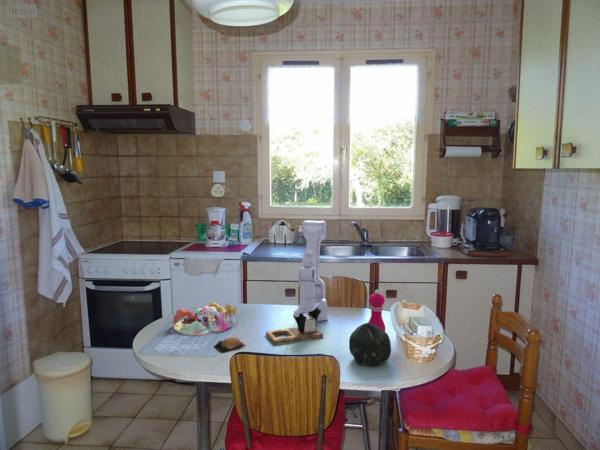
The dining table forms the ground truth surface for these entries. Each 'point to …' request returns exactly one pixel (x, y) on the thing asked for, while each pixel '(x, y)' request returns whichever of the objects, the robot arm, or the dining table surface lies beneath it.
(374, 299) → the pepper mill
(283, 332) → the wooden board with holes
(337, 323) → the dining table surface
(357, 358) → the squash
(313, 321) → the light grey block
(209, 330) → the candy landscape model
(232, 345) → the bread roll
